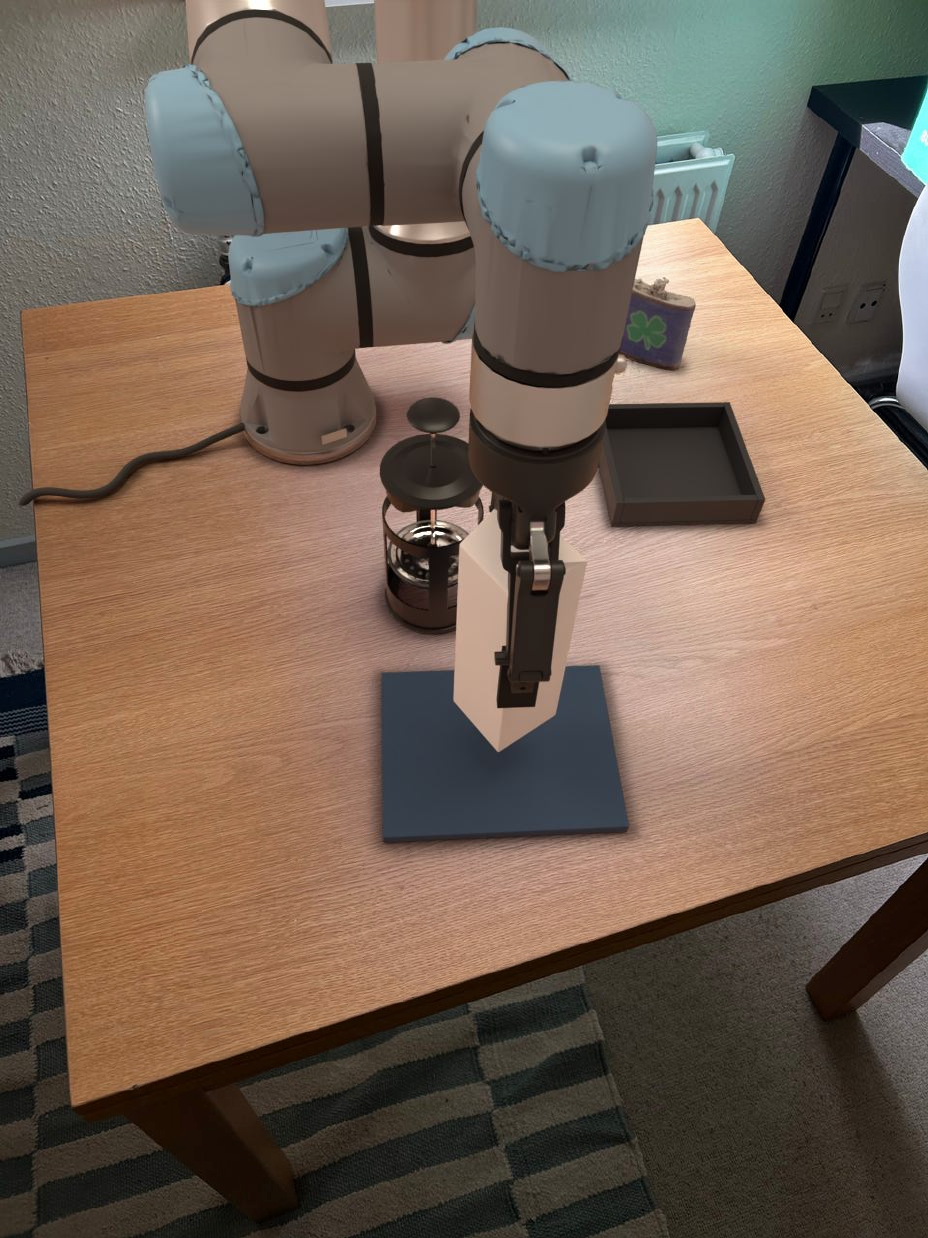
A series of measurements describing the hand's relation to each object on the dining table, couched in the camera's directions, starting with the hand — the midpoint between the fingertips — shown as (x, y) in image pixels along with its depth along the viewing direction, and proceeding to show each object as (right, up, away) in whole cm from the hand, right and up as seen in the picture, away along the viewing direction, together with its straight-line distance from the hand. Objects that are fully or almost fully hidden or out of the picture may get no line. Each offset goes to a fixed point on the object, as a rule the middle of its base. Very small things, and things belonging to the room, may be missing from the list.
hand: (509, 652), depth 68 cm
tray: (+19, +19, +34) cm, 43 cm away
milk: (0, -5, +6) cm, 8 cm away
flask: (+19, +35, +47) cm, 62 cm away
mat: (0, -9, +12) cm, 15 cm away
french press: (-7, +5, +23) cm, 24 cm away
